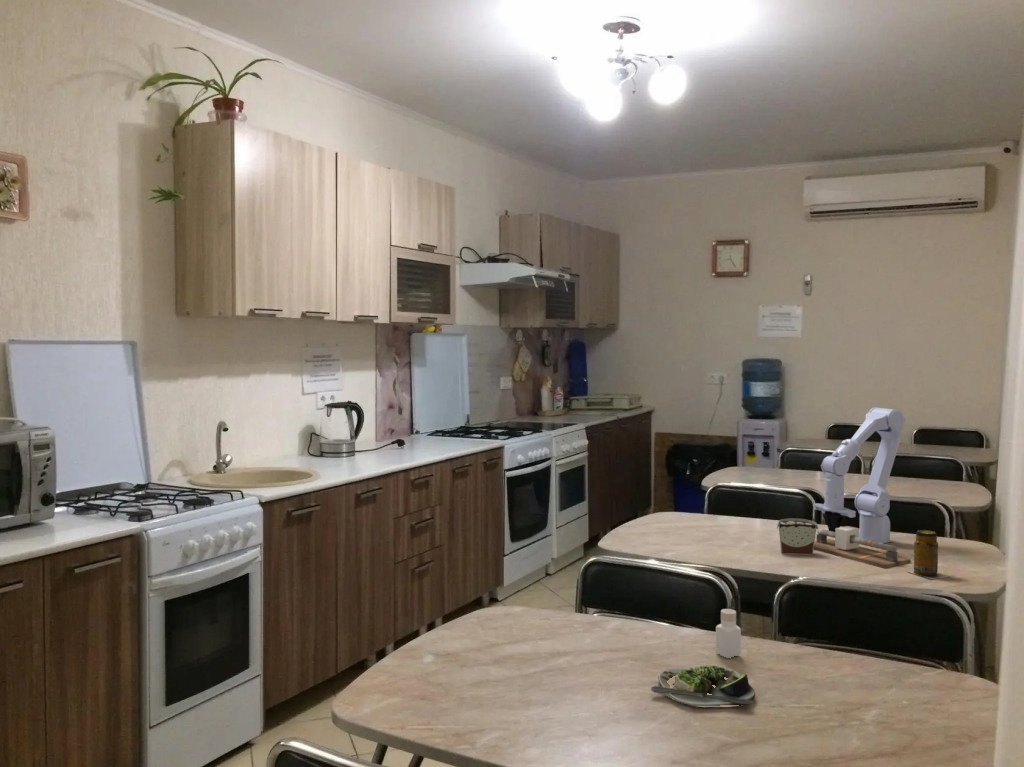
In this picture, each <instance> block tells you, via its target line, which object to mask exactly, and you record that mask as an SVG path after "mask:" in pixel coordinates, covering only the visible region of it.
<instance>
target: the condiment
mask: <svg viewBox="0 0 1024 767" xmlns="http://www.w3.org/2000/svg"><path fill="white" fill-rule="evenodd" d="M937 537H938V533H937V532H935V531H933V530H927V529H920V530H917V531H916V532H915V540H914V542H913V544H914V545H913V546H914V547H913V570H906V572H908V573H911V574H913V575H916V576H921V577H923V578H925V579H926V578H927V579H930V580H935V579H943V578H948V577H949V578H950V575H946V574H944V573H942V572H938V568H939V566H938V565H939V564H938V563H939V562H938V560H939V558H938V557H939V543H938V542H937V540H938V538H937Z"/></svg>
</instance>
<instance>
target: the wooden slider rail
mask: <svg viewBox="0 0 1024 767" xmlns="http://www.w3.org/2000/svg"><path fill="white" fill-rule="evenodd" d="M816 533H817V534H816V540H815V542H814V550H813V551H818V552H821V553H825V554H829V555H833V556H838V557H841V558H845V559H848V560H852V561H855V562H856V561H857V562H860V563H863V564H867V565H871V566H875V567H879V568H881V569H882V568H883V569H888V568H891V567H897V566H900V565H901V566H902V565H906V564H909V563H911V558H908V557H904V556H899V555H898V551H897V550H898V548H897V546H896V545H892V544H891V545H890V544H887V543H879V542H875V541H872V540H871V541H870V540H866V539H862V538H858V537H854V536H850V542H854V543H858V544H859V548H854V549H849V550H844V549H840V548H836V547H835V539H831V538H835V532H833V531H829V529H823V528H819V527H818V529H816ZM828 537H830V538H828ZM861 545H862V546H861ZM863 546H867V547H869V548H867V547H863ZM872 548H874V549H872ZM875 549H879V550H883V551H879V550H875Z"/></svg>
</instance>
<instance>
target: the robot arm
mask: <svg viewBox="0 0 1024 767" xmlns="http://www.w3.org/2000/svg"><path fill="white" fill-rule="evenodd" d="M905 422H906V419H905V416H904V415H903V412H902V411H901V409H897V408H894V409H893V408H883V407H876V406H874V407H872V408H871V409H870V410H868V411H867V413H866V414H865V420H864V421H863V423H862V424H861V425H860V426H859V428H858V429H857V430H856V431H855V433H854V434H853V436H852V437H851V438H847V439H844V440H842V441H840V442H841V444H840V445H839V446H838V447H837V448H836V449H835V450H834V451H833V452H832V453H831V455H828V456H826V457H824V458H823V460H822V462H821V464H820V469H821V471H822V472H823V478H824V503H817V502H816V503H813V510H814V511H821V512H824V513H822V517H823V520H824V521H825V523H826V525H827V528H828V529H827V530H829V531H833V532H835V528H840V527H842V524H843V522H844V520H845V518H846V517H848V518H851V519H852V518H856V513H858V514H859V538H862V539H866V540H870V541H871V540H872V541H875V542H879V543H883V544H887V543H891V542H893V539H891V520H890V518H889V516H888V515H887V513H889V510H890V506H891V505H890V504H891V503H890V501H891V497H892V496H891V494H890V493H889V491H888V490H887V485H888V483H889V478H890V475H891V472H892V468H893V466H894V463H895V458H896V456H897V452H898V449H899V446H900V443H901V441H902V440H901V439H902V431H903V428H904V425H905ZM875 432H876V433H878V434H879V436H880V438H881V439H880V440H881V441H880V443H879V446H878V449H877V453H876V455H875V459H874V463H873V466H872V470H871V472H870V476H869V478H868V483H866V484H865V485H863V486H861V487H860V490H859V492H858V493H857V495H855V498H854V501H853V502H854V507H855V508H856V509H857V511H856V510H852V509H850V508H848V507H844V506H845V505H844V504H845V499H844V498H845V475H846V474H847V473H848V472H849V468H850V465H851V462H852V461H853V460H854V459H855V458H856V456H858V455H859V453H860V452H861V445H863V444H864V443H865V442H866V441H867V440H868V439H869V438H870V437H871V436H872V435H873V434H874V433H875Z"/></svg>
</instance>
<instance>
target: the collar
mask: <svg viewBox="0 0 1024 767" xmlns="http://www.w3.org/2000/svg"><path fill="white" fill-rule="evenodd" d="M859 533H860V527H859V528H858V527H855V526H849V525H845V526H840V528H835V539H834V540H835V547H836V548H840V549H844V550H849V549H854V548H859V546H860V544H858V543H854V542H850V536H854V537H858V538H859Z"/></svg>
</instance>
